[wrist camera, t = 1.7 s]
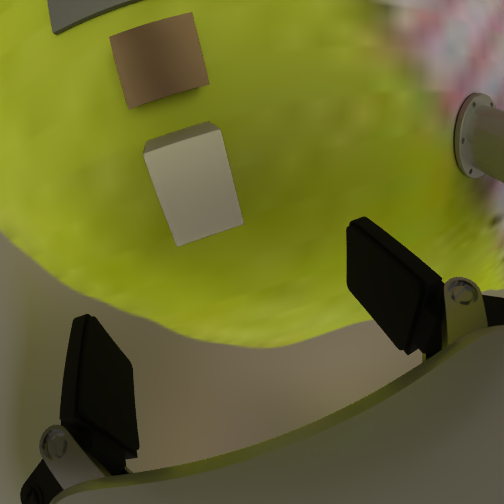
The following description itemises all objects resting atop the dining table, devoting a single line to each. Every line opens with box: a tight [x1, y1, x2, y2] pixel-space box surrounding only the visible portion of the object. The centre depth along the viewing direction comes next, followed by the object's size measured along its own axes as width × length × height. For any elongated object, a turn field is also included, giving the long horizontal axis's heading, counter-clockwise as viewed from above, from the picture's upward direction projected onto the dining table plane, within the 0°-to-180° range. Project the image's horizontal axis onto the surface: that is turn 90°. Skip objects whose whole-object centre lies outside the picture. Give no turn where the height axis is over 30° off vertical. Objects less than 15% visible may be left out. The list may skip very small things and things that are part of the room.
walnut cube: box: [109, 12, 209, 109], centre depth 16 cm, size 5×5×5 cm
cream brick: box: [143, 121, 244, 247], centre depth 21 cm, size 5×7×5 cm
